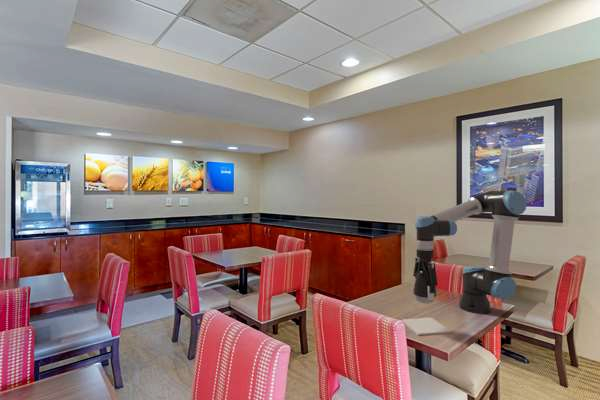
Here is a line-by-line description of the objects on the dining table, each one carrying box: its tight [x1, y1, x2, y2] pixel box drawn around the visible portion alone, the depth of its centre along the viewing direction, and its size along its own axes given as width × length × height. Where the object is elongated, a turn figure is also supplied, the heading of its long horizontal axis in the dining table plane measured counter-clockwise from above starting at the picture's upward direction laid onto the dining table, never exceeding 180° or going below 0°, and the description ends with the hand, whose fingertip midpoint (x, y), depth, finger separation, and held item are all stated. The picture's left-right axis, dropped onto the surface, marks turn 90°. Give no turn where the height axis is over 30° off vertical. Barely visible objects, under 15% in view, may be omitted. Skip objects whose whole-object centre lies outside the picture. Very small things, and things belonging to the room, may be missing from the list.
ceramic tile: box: [401, 317, 452, 336], centre depth 151 cm, size 16×16×1 cm
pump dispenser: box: [412, 270, 437, 304], centre depth 150 cm, size 10×10×15 cm
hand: (424, 295), depth 150 cm, fingers closed on pump dispenser, 10 cm apart
